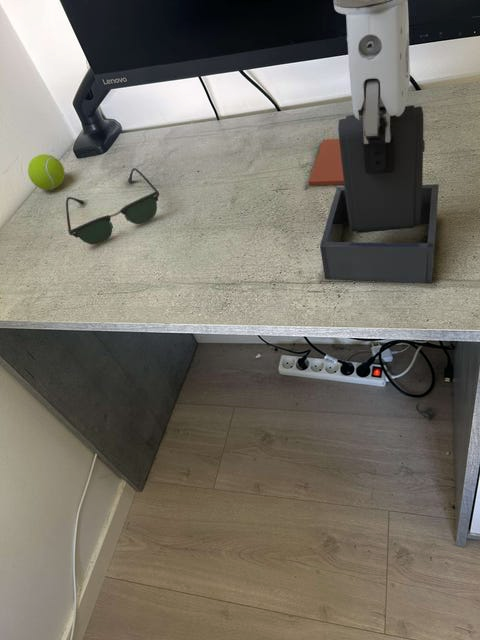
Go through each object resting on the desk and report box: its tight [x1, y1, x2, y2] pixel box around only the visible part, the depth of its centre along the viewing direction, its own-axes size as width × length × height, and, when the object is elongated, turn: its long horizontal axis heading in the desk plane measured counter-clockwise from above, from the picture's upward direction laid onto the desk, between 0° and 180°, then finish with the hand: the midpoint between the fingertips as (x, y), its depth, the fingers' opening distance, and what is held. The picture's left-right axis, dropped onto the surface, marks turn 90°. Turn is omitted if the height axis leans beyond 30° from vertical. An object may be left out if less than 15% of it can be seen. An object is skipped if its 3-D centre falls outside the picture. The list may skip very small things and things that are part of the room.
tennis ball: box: [27, 153, 66, 191], centre depth 101 cm, size 7×7×7 cm
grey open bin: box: [319, 183, 440, 284], centre depth 66 cm, size 14×13×6 cm
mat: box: [308, 138, 344, 186], centre depth 83 cm, size 15×13×1 cm
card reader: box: [337, 104, 426, 234], centre depth 59 cm, size 9×4×15 cm, turn 81°
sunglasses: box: [65, 167, 160, 246], centre depth 89 cm, size 16×17×5 cm
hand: (382, 158), depth 57 cm, fingers closed on card reader, 4 cm apart
